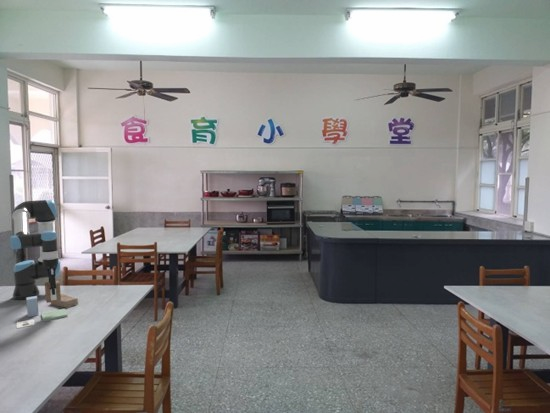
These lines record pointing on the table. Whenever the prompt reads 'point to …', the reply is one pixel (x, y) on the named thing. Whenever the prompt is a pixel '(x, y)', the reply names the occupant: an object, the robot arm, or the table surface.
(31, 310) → the bluegrey block
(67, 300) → the brick
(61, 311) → the pad
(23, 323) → the page
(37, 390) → the table surface
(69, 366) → the table surface
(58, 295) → the walnut block
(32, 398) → the table surface
